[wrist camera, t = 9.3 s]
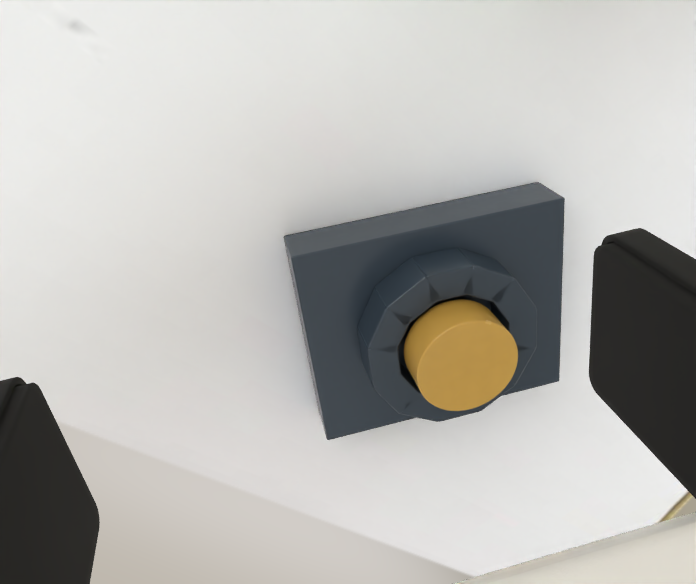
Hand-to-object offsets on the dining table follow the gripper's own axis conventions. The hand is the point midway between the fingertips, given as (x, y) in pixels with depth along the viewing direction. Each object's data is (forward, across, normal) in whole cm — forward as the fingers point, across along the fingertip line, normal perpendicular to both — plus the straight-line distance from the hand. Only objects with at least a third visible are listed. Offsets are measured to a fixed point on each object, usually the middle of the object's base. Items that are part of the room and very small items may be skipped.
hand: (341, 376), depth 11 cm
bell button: (+11, -6, +8) cm, 15 cm away
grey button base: (+15, -6, +8) cm, 18 cm away
